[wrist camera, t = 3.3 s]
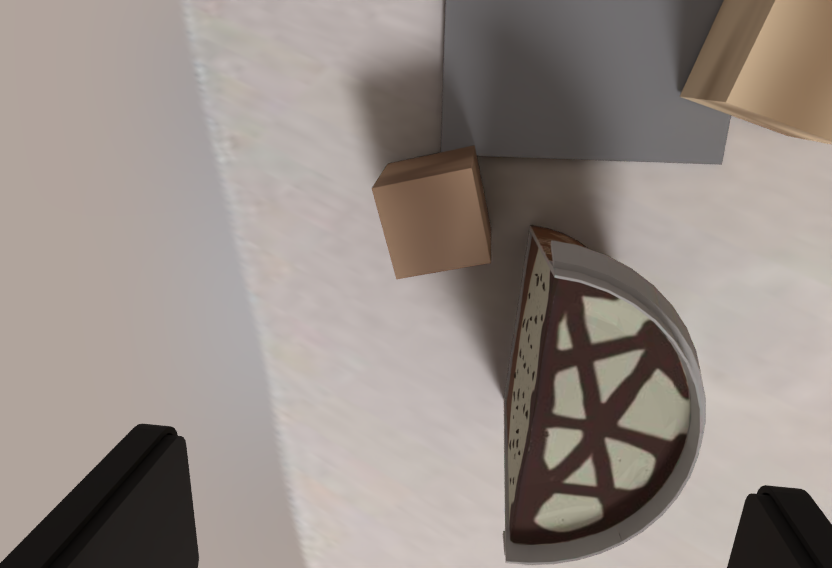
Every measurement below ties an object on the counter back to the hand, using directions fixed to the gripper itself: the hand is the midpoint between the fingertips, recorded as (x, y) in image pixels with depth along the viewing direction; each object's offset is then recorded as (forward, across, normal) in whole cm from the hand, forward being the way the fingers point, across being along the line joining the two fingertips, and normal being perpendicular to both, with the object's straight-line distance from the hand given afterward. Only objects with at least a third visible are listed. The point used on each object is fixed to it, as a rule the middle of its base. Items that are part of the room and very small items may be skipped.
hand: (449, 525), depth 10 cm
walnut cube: (+19, +2, -2) cm, 19 cm away
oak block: (+19, -11, -8) cm, 23 cm away
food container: (+20, -5, +4) cm, 21 cm away
